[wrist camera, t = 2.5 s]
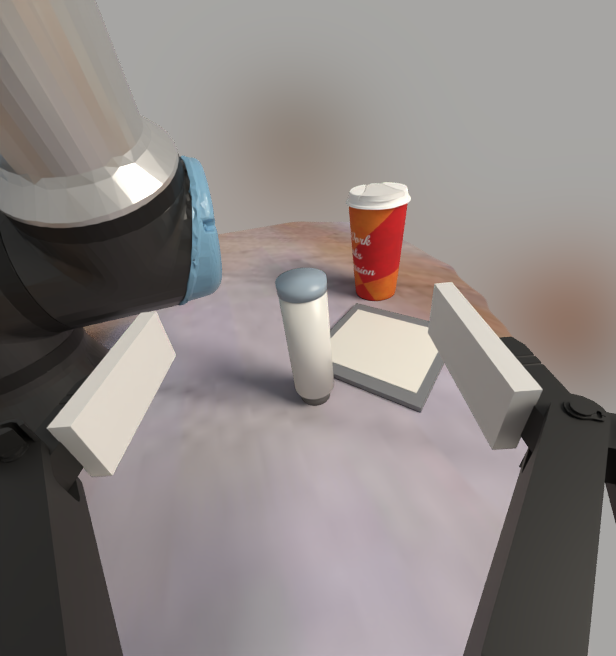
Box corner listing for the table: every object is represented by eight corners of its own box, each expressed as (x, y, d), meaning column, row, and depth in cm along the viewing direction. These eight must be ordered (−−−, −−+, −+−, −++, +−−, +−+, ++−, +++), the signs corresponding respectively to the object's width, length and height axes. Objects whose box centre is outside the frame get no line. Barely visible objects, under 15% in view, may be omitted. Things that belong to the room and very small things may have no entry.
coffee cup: (346, 281, 52) (342, 185, 44) (395, 276, 52) (402, 178, 43) (352, 307, 45) (349, 200, 37) (409, 302, 45) (420, 192, 36)
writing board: (301, 364, 37) (300, 360, 36) (356, 306, 46) (356, 302, 45) (420, 412, 30) (421, 407, 29) (458, 332, 38) (459, 328, 38)
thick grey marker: (288, 399, 33) (264, 285, 25) (310, 375, 35) (295, 264, 27) (321, 416, 30) (307, 296, 23) (342, 388, 33) (336, 272, 25)
